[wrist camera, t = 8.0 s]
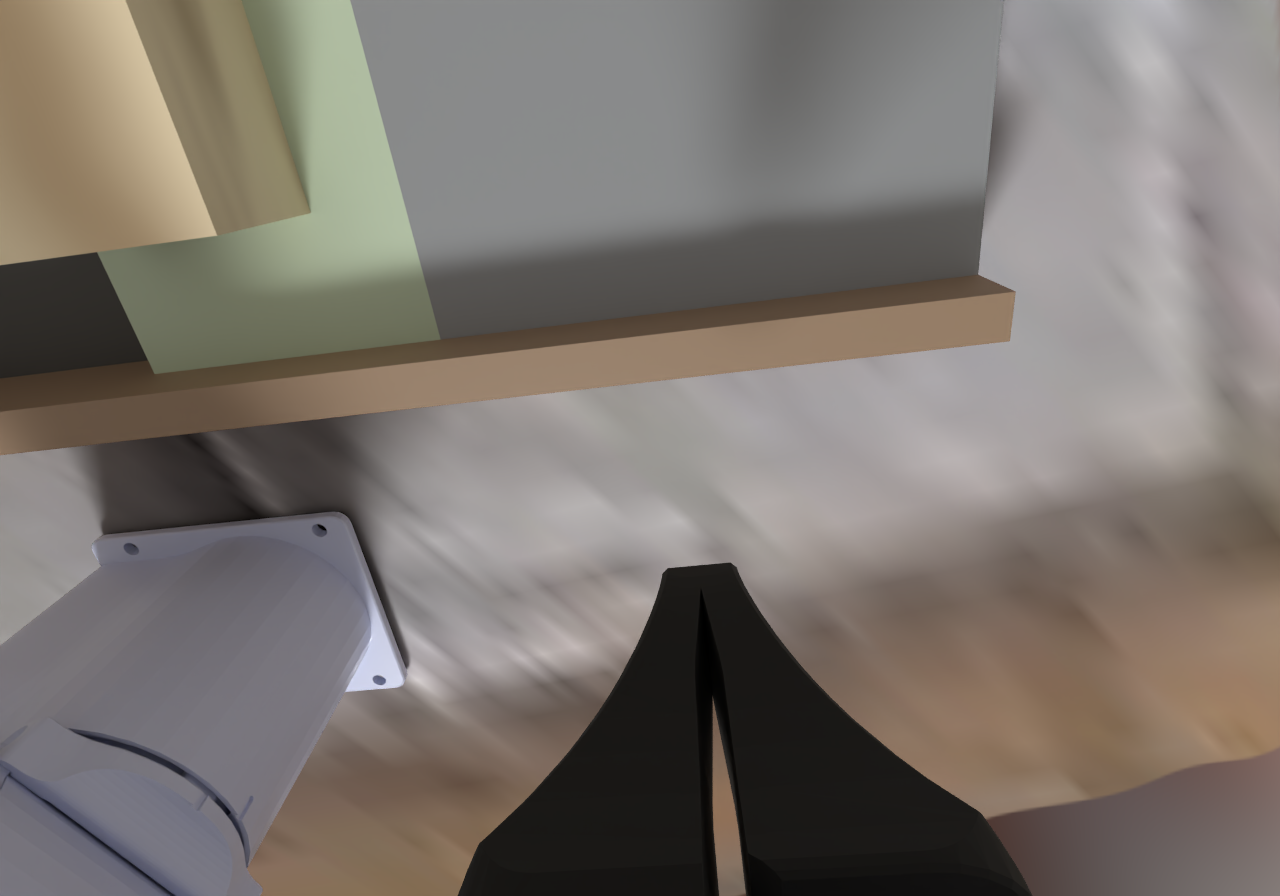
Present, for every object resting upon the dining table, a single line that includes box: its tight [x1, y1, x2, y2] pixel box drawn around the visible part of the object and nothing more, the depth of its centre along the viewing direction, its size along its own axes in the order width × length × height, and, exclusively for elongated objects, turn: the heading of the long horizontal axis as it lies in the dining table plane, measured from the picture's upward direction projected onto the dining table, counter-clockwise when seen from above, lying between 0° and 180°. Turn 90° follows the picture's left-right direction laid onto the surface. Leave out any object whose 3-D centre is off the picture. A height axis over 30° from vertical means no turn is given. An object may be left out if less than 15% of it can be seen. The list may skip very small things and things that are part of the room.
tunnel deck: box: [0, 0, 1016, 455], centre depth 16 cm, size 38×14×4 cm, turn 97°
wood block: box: [0, 0, 311, 265], centre depth 14 cm, size 5×5×4 cm
